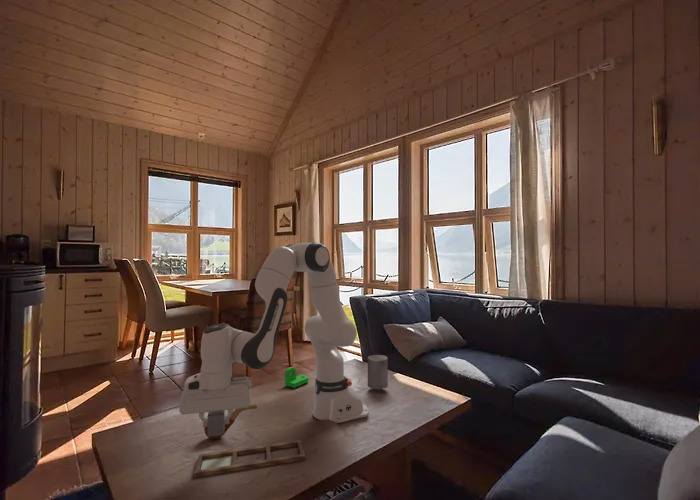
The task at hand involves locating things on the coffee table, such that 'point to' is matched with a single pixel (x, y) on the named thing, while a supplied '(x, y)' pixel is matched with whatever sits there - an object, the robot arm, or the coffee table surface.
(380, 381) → the pillar candle
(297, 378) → the mechanical part
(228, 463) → the divided wooden frame
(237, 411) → the smoking pipe
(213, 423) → the gray rectangular block
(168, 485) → the coffee table surface
